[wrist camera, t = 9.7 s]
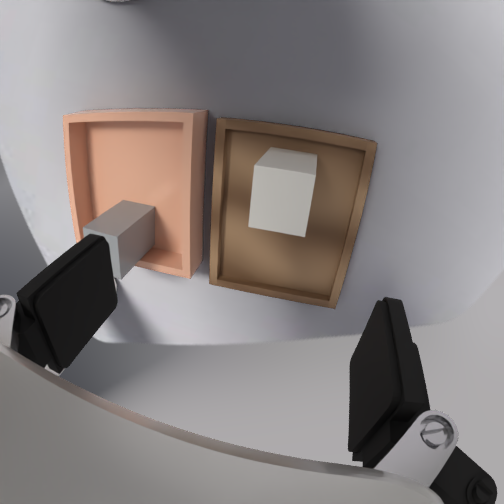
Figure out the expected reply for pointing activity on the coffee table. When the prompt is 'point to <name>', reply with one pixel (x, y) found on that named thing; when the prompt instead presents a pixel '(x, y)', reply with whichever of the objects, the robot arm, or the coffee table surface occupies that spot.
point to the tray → (280, 244)
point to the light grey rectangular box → (282, 191)
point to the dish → (142, 175)
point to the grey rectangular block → (125, 233)
